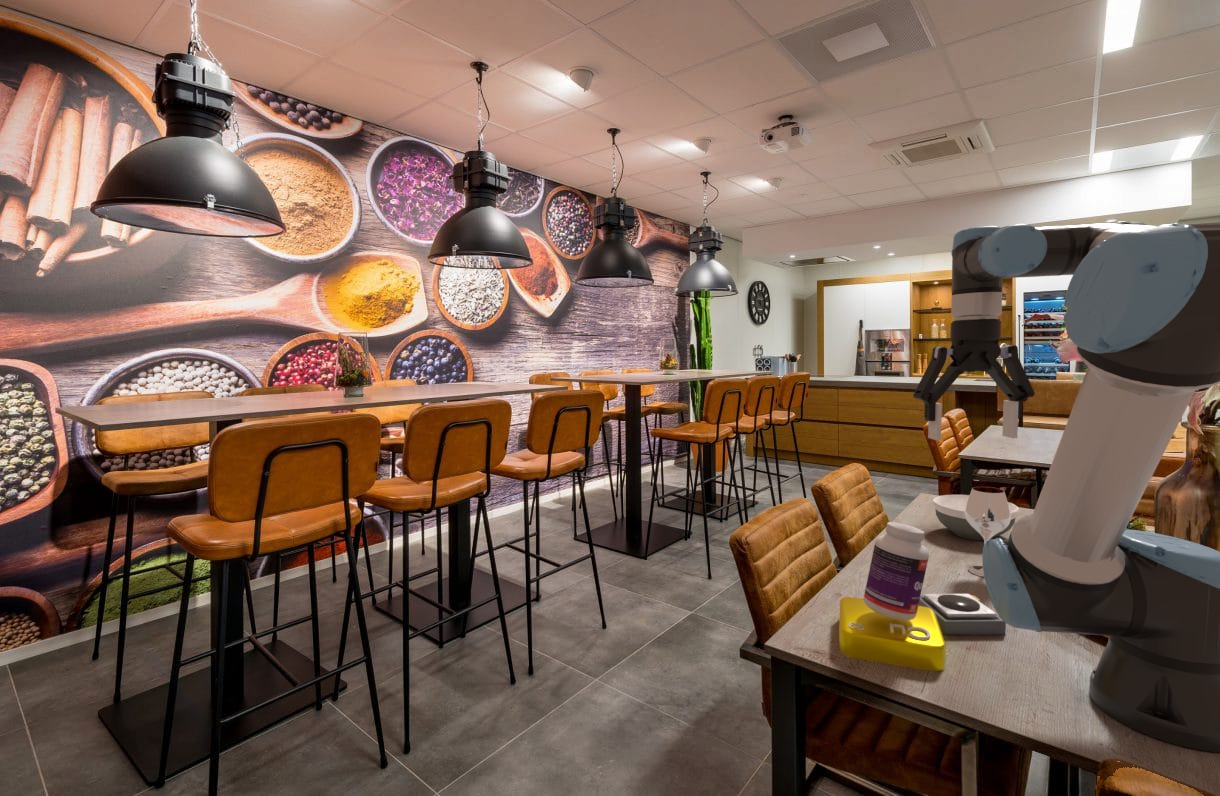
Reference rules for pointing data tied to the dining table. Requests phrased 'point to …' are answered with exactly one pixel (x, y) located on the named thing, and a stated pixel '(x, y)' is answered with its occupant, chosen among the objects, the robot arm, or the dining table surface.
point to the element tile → (891, 637)
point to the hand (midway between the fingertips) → (972, 438)
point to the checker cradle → (968, 624)
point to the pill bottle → (897, 572)
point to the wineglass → (987, 515)
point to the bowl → (963, 516)
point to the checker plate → (959, 607)
